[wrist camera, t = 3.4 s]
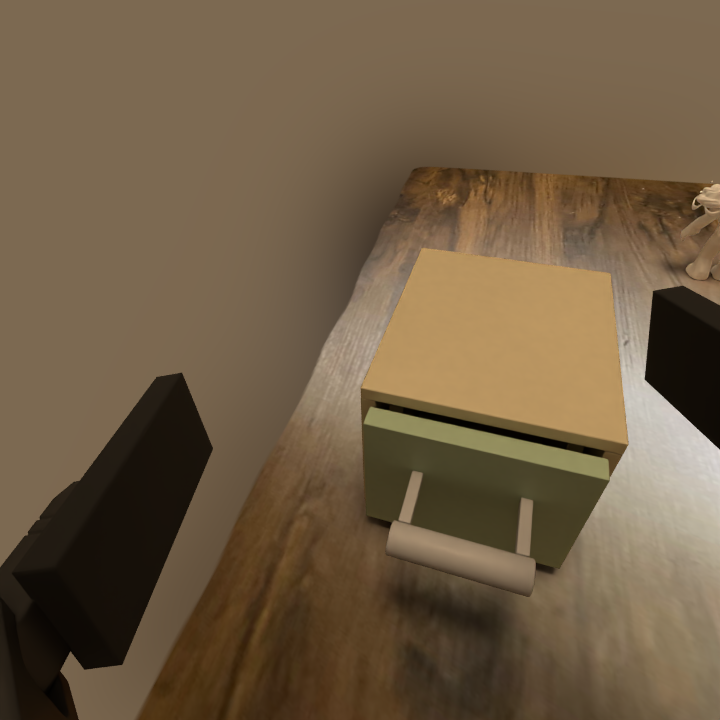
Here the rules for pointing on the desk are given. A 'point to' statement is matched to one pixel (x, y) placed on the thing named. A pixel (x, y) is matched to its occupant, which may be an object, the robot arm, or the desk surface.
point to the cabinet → (505, 350)
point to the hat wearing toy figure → (715, 199)
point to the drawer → (477, 495)
